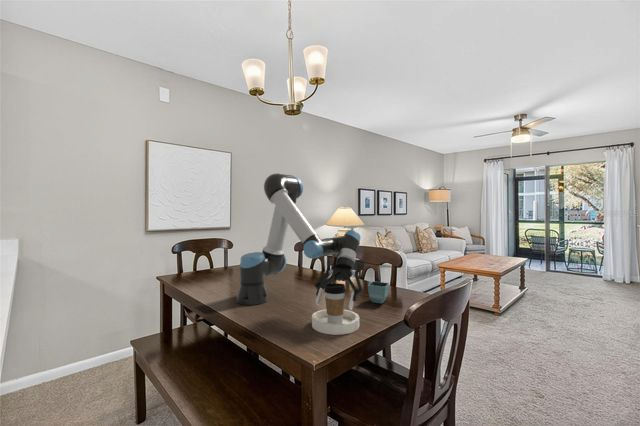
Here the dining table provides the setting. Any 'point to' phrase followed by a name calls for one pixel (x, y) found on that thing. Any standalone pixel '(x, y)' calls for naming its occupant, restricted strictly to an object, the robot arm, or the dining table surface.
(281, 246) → the robot arm
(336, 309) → the coffee cup
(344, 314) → the serving bowl
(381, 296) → the flower pot
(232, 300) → the dining table surface
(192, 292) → the dining table surface
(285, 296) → the dining table surface
